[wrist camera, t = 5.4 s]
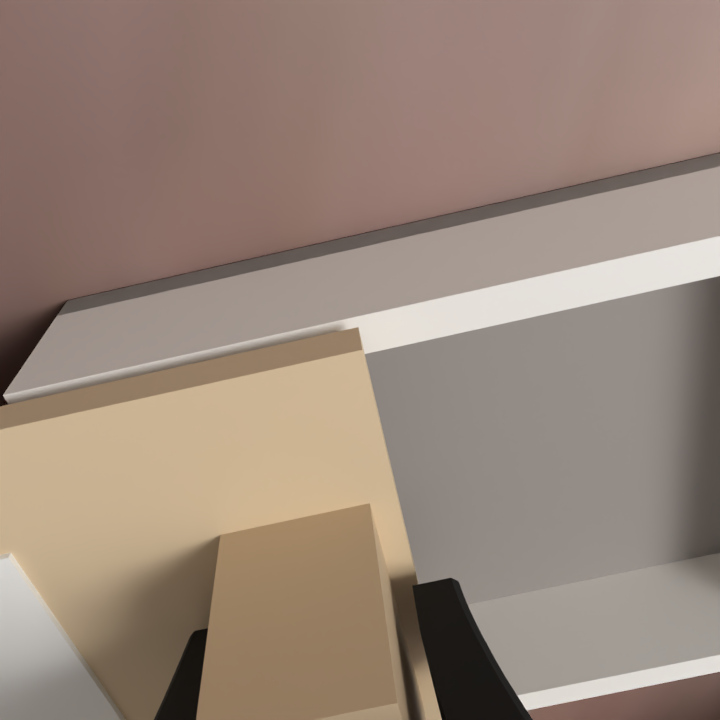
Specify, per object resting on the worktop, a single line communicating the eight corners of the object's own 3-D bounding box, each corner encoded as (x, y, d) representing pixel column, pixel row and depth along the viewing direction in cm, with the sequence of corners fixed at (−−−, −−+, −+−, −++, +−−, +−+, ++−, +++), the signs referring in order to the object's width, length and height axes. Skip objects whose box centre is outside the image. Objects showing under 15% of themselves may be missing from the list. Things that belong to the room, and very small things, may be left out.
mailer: (804, 133, 11) (956, 183, 9) (747, 542, 16) (830, 649, 14) (67, 300, 12) (2, 395, 9) (236, 647, 17) (225, 771, 14)
